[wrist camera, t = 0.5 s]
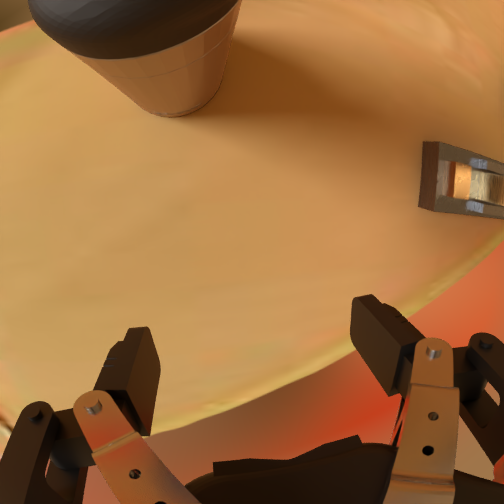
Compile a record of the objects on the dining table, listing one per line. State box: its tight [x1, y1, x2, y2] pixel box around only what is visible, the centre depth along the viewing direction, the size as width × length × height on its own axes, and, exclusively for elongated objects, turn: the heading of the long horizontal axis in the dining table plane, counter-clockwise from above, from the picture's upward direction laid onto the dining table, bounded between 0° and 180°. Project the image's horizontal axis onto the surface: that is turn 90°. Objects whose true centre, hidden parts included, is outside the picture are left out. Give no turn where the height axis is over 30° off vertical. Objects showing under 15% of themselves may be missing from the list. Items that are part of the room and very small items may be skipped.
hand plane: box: [418, 142, 504, 219], centre depth 30 cm, size 22×8×5 cm, turn 88°
